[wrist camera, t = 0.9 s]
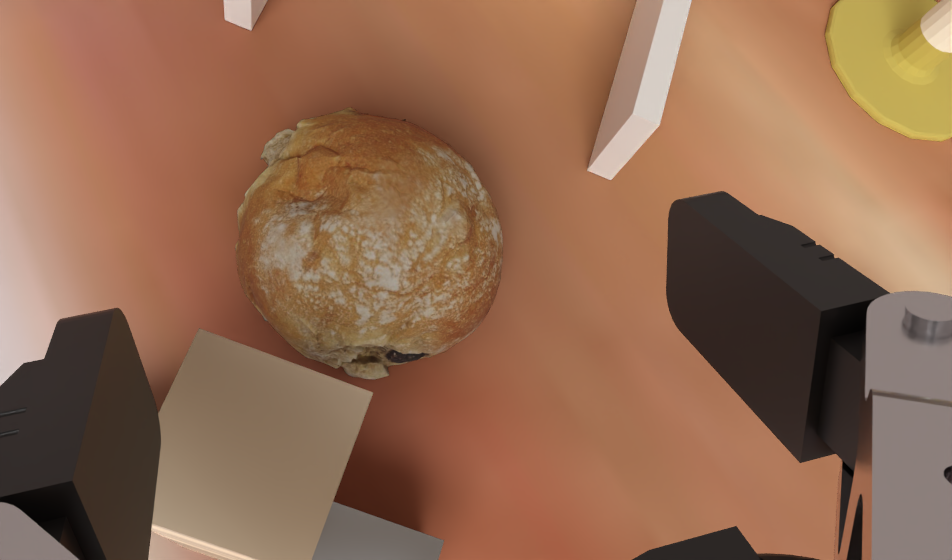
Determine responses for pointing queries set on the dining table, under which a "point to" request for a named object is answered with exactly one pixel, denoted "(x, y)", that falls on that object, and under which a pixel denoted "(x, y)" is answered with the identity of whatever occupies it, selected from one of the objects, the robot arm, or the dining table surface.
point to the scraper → (265, 462)
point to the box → (633, 87)
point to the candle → (896, 62)
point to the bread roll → (368, 242)
